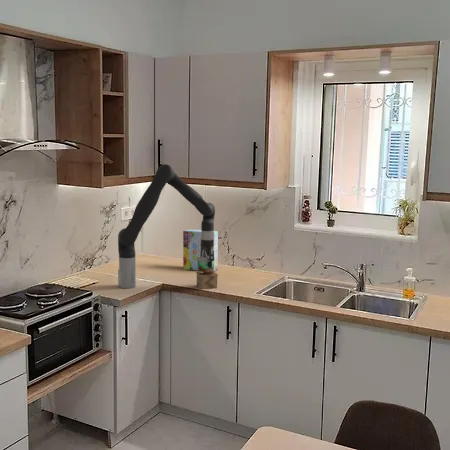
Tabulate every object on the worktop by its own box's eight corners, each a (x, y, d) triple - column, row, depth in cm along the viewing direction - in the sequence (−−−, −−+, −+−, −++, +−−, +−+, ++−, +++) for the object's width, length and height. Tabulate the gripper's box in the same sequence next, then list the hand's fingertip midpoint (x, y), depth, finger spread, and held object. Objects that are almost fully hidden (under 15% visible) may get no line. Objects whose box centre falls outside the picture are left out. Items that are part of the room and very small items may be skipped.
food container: (204, 275, 317) (204, 258, 316) (196, 274, 321) (196, 257, 320) (219, 272, 326) (219, 255, 325) (212, 271, 330) (211, 254, 329)
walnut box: (202, 289, 320) (202, 275, 318) (195, 285, 328) (196, 272, 327) (217, 288, 324) (218, 274, 322) (211, 284, 332) (211, 270, 331)
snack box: (218, 269, 369) (218, 230, 366) (213, 272, 361) (214, 232, 358) (187, 266, 377) (188, 228, 373) (182, 269, 369) (182, 230, 365)
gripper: (196, 236, 326) (196, 264, 329) (206, 240, 314) (205, 269, 316) (208, 236, 330) (208, 263, 332) (218, 240, 317) (218, 268, 319)
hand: (207, 266), depth 324 cm, fingers open, 8 cm apart
